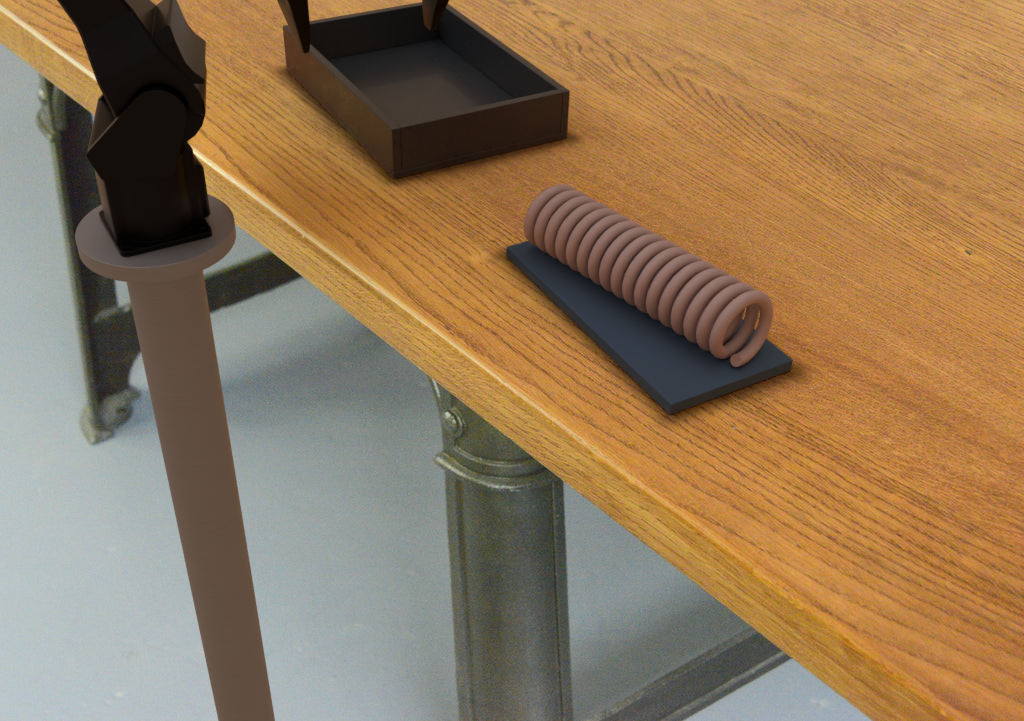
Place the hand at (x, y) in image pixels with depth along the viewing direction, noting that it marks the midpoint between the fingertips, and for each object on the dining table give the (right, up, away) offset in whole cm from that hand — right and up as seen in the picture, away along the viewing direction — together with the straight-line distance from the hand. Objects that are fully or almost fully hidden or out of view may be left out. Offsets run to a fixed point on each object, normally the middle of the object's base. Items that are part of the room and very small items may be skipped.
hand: (368, 39), depth 77 cm
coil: (+18, -18, -4) cm, 25 cm away
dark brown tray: (+2, 0, +20) cm, 20 cm away
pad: (+18, -18, -3) cm, 26 cm away
